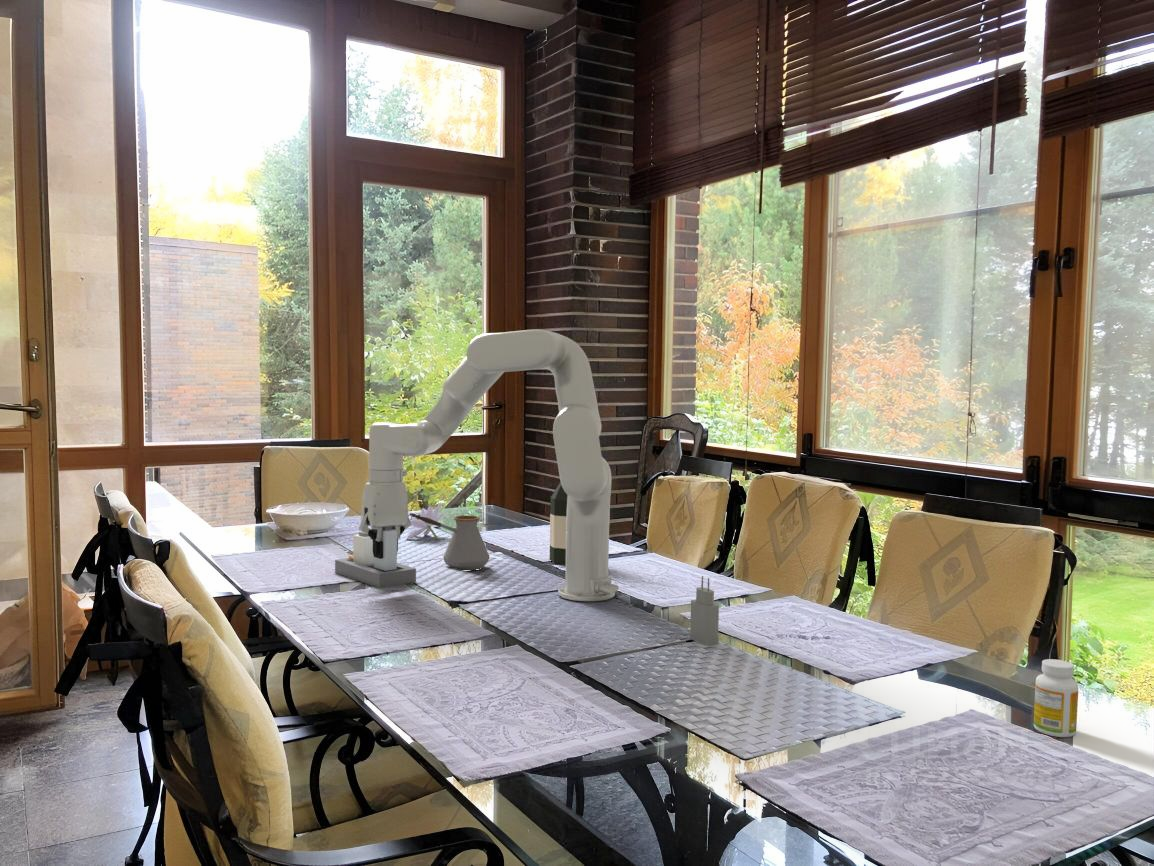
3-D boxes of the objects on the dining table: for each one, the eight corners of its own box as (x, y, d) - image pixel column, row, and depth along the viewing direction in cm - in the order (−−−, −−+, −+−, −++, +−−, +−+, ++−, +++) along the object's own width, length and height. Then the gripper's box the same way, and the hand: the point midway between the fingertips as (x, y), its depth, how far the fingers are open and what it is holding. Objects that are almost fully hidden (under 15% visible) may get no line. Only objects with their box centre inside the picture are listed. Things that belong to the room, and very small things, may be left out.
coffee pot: (476, 562, 238) (477, 504, 237) (497, 570, 228) (498, 510, 227) (398, 570, 226) (398, 510, 225) (416, 579, 217) (417, 516, 216)
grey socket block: (415, 585, 210) (416, 566, 210) (379, 592, 204) (379, 571, 204) (370, 571, 225) (370, 552, 225) (335, 576, 218) (335, 557, 218)
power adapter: (706, 645, 168) (707, 580, 167) (688, 638, 173) (689, 574, 172) (719, 643, 169) (721, 579, 169) (701, 635, 174) (703, 573, 173)
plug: (396, 569, 210) (397, 526, 209) (385, 570, 208) (385, 527, 207) (385, 565, 214) (385, 523, 213) (373, 567, 211) (374, 524, 211)
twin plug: (375, 574, 217) (375, 533, 216) (364, 576, 215) (364, 534, 214) (364, 570, 221) (364, 530, 220) (353, 572, 219) (353, 531, 218)
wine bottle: (581, 565, 236) (583, 448, 234) (548, 564, 236) (550, 448, 234) (581, 558, 244) (583, 446, 243) (550, 558, 245) (552, 445, 243)
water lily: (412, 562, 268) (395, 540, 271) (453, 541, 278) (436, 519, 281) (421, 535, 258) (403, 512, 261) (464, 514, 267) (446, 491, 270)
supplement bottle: (1062, 723, 133) (1066, 657, 132) (1084, 738, 127) (1088, 669, 127) (1025, 723, 133) (1029, 657, 132) (1046, 738, 127) (1049, 669, 127)
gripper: (407, 473, 218) (406, 550, 219) (345, 477, 206) (344, 558, 208) (425, 476, 212) (424, 555, 213) (362, 480, 201) (361, 564, 202)
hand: (385, 555), depth 210 cm, fingers closed on plug, 3 cm apart
